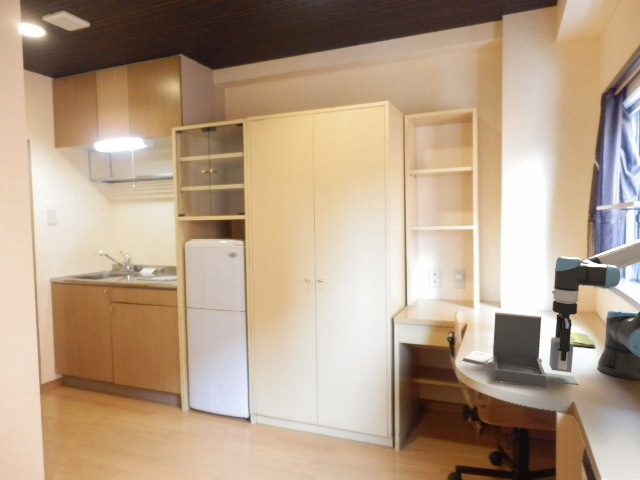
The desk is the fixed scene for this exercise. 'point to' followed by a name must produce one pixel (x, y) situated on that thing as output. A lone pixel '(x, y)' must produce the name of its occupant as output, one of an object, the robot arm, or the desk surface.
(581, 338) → the washcloth
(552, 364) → the block
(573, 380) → the mat
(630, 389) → the desk surface
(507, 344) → the case
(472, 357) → the external hard drive
